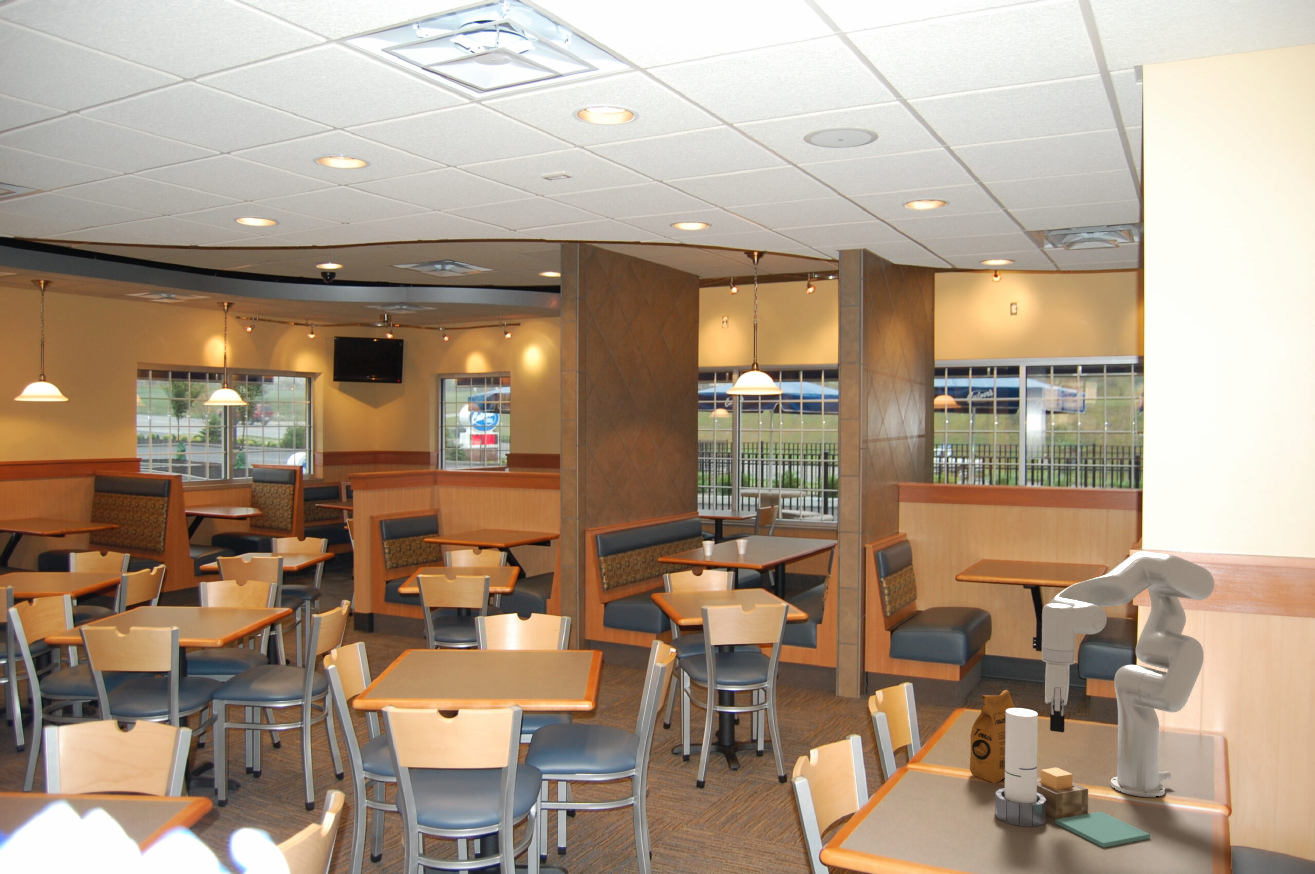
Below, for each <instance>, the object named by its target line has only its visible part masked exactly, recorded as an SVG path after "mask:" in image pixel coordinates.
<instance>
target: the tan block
mask: <svg viewBox="0 0 1315 874" xmlns="http://www.w3.org/2000/svg"><path fill="white" fill-rule="evenodd" d="M1040 778H1041V783H1042V784H1044V785H1046V786H1048V787H1051V788H1053V789H1055V790H1060V789H1066V788H1072V782H1073V773H1071V772H1068V771H1066V770H1063V769H1061V768H1059V767H1050V768H1045V769H1041V770H1040Z"/></svg>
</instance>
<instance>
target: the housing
mask: <svg viewBox="0 0 1315 874" xmlns="http://www.w3.org/2000/svg"><path fill="white" fill-rule="evenodd" d="M1037 793H1039V794H1041V795H1043V796H1044V797H1045V799H1046V816H1048V817H1049V818H1052V819H1054V820H1056V819H1061V818H1067V817H1072V816H1078V815H1084V814H1089V788H1088V787H1086V786H1083V785H1080V784H1079V783H1076V782H1074V781H1072V788H1066V789H1060V790H1055V789H1053V788H1051V787H1048V786H1046V785H1044V784H1042V783H1041V777H1037Z"/></svg>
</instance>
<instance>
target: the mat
mask: <svg viewBox="0 0 1315 874" xmlns="http://www.w3.org/2000/svg"><path fill="white" fill-rule="evenodd" d="M1055 825H1058V826H1060V827H1061V828H1063V829H1065V830H1067V831H1069V832H1071V833H1073V834H1076V835H1078V836H1079V837H1081V838H1083V839H1085V840H1087V841H1089V842H1091V843H1093V844H1095V845H1097V846H1099V847H1101V848H1109V847H1113V846H1118V845H1123V844H1129V843H1134V841H1135V842H1139V841H1144V840H1150V839H1151V834H1150V833H1149V832H1146V831H1144V830H1142V829H1140V828H1139V827H1136V826H1134V825H1131V824H1129V823H1127V822H1124V821H1123V820H1121V819H1119V818H1117V817H1114V816H1112V815H1109V814H1107V813H1106V812H1103V811H1096V812H1095V811H1094V812H1090V813H1089V812H1088V814H1083V815H1077V816H1072V817H1066V818H1061V819H1055Z"/></svg>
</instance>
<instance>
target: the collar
mask: <svg viewBox="0 0 1315 874" xmlns="http://www.w3.org/2000/svg"><path fill="white" fill-rule="evenodd" d="M994 814H995V817H997V819H998V818H999V820H1000V819H1001V821H1002V820H1003V821H1002V822H1004V823H1006V822H1007V823H1006V824H1010V825H1013V824H1014V826H1018V827H1029V828H1032V827H1038V826H1039V827H1040V826H1043V825H1044V824H1045V823H1046V822H1047V815H1046V799H1045V797H1044V796H1043V795H1041V794H1039V793H1037V802H1035V803H1019V802H1015V801H1011V800H1008V799H1006V798H1005V787H1004V788H999V789H997V790H996V791H995V793H994Z"/></svg>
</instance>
